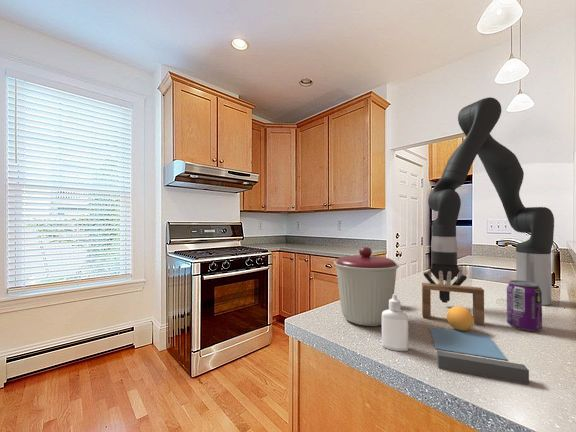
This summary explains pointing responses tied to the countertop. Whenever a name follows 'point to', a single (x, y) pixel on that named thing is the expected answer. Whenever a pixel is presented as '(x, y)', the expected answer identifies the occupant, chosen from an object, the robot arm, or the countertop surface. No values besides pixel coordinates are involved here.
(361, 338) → the countertop surface
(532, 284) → the beverage can
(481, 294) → the bridge
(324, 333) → the countertop surface
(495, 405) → the countertop surface
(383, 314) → the eye dropper bottle
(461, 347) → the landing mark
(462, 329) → the ball
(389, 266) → the canister
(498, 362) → the stopper wall
